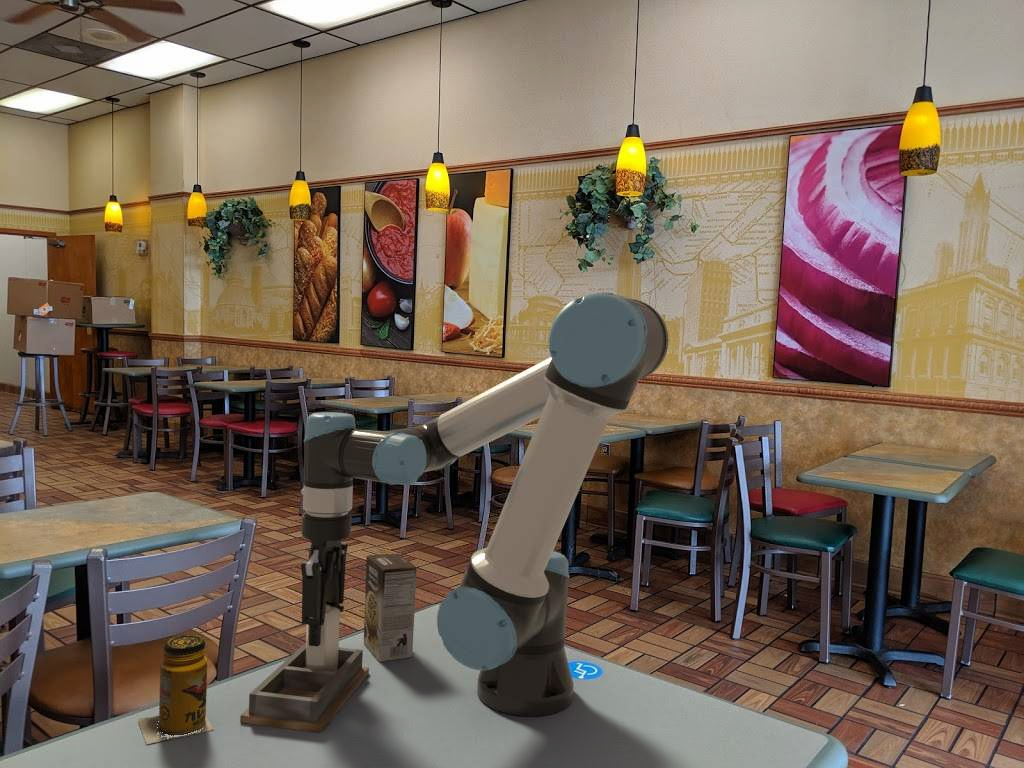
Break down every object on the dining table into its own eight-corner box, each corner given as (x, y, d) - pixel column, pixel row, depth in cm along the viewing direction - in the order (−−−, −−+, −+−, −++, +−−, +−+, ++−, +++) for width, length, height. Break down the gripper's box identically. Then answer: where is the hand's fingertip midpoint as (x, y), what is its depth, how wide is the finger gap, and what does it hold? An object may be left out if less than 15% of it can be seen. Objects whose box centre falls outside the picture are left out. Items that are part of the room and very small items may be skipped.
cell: (342, 668, 126) (344, 602, 125) (330, 682, 121) (333, 613, 120) (312, 665, 127) (315, 599, 126) (299, 678, 122) (302, 610, 121)
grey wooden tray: (368, 673, 129) (369, 649, 128) (321, 732, 109) (322, 704, 109) (299, 665, 130) (300, 641, 130) (240, 722, 111) (241, 694, 110)
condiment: (213, 730, 108) (216, 645, 107) (146, 745, 103) (148, 656, 103) (201, 708, 114) (204, 627, 113) (137, 721, 109) (139, 637, 109)
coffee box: (361, 643, 141) (365, 554, 140) (395, 638, 144) (399, 551, 143) (378, 662, 133) (382, 569, 132) (413, 657, 136) (417, 565, 135)
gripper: (325, 499, 131) (320, 636, 133) (280, 521, 115) (275, 678, 116) (368, 502, 130) (362, 640, 132) (329, 525, 114) (323, 683, 115)
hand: (321, 657), depth 124 cm, fingers closed on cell, 4 cm apart
